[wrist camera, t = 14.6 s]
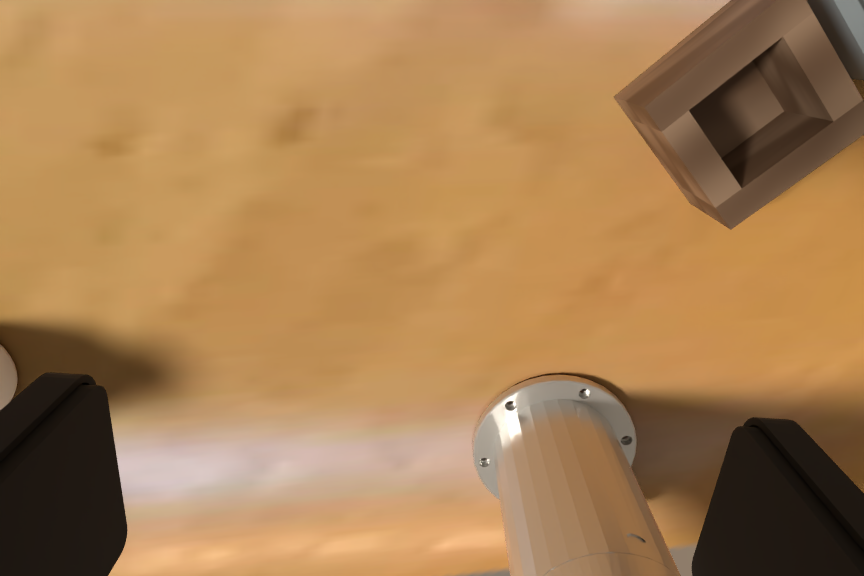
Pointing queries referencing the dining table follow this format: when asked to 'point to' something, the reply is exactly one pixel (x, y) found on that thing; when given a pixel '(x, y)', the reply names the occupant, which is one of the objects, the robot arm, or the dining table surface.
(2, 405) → the milk bottle
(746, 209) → the holder block
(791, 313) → the dining table surface
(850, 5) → the tray
